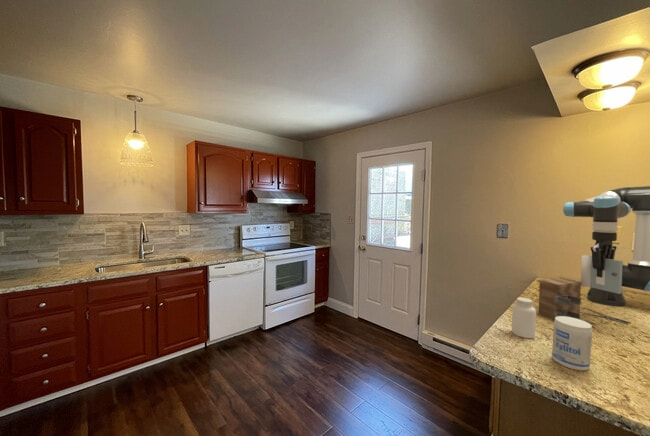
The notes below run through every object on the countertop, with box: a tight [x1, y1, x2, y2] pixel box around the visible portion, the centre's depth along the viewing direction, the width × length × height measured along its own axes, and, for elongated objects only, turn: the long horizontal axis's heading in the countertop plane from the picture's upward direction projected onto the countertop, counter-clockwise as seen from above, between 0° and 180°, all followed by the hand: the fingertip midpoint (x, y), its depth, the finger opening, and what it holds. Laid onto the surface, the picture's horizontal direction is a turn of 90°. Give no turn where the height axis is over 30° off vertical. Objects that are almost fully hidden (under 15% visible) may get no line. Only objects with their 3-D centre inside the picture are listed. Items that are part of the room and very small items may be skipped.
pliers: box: [580, 306, 632, 325], centre depth 131 cm, size 10×1×20 cm
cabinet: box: [537, 276, 582, 321], centre depth 128 cm, size 18×14×17 cm
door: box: [580, 254, 624, 294], centre depth 118 cm, size 4×14×14 cm, turn 16°
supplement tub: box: [551, 316, 593, 371], centre depth 90 cm, size 10×10×15 cm
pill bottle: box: [511, 297, 537, 339], centre depth 111 cm, size 8×8×15 cm
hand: (602, 283), depth 118 cm, fingers closed on door, 2 cm apart
